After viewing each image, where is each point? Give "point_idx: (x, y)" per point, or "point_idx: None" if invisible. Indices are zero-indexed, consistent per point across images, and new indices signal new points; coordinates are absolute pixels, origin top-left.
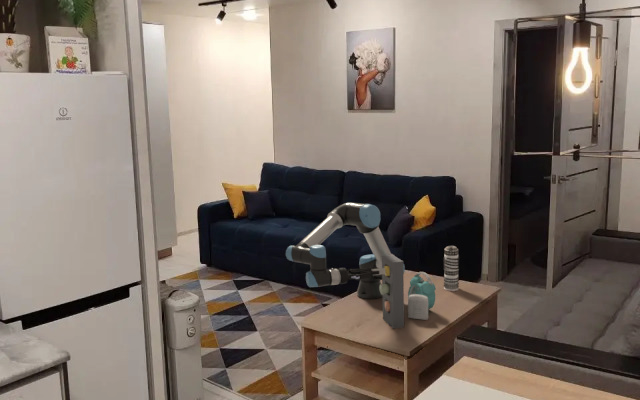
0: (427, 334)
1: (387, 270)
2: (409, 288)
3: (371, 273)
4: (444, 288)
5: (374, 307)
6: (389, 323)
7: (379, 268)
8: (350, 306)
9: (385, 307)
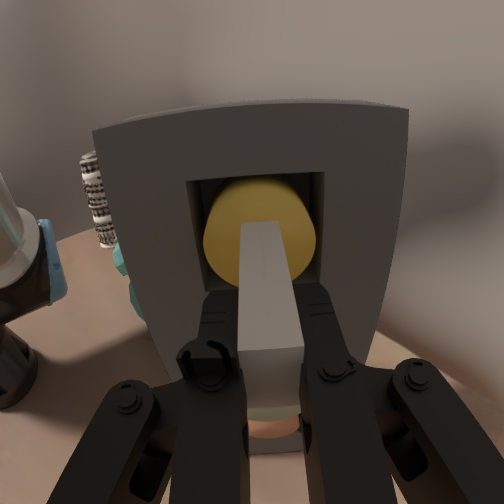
0: (399, 355)
1: (308, 224)
2: (131, 285)
3: (431, 397)
4: (107, 247)
5: (84, 425)
6: (288, 450)
7: (244, 253)
8: (31, 481)
9: (256, 433)
